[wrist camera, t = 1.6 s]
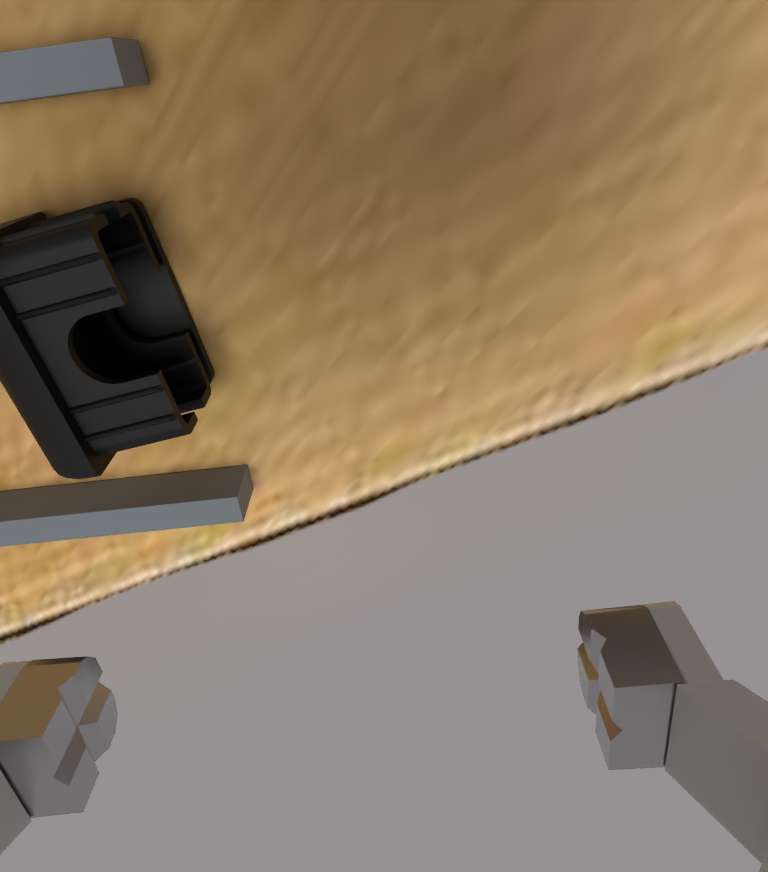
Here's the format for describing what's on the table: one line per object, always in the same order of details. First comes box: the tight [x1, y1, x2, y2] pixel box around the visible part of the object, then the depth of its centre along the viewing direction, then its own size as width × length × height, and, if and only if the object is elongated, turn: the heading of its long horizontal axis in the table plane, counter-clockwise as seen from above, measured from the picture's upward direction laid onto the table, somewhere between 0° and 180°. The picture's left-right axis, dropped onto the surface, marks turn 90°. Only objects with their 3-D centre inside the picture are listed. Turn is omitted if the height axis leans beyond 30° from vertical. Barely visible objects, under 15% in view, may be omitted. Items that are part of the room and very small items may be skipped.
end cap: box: [0, 198, 214, 479], centre depth 28 cm, size 10×7×7 cm
